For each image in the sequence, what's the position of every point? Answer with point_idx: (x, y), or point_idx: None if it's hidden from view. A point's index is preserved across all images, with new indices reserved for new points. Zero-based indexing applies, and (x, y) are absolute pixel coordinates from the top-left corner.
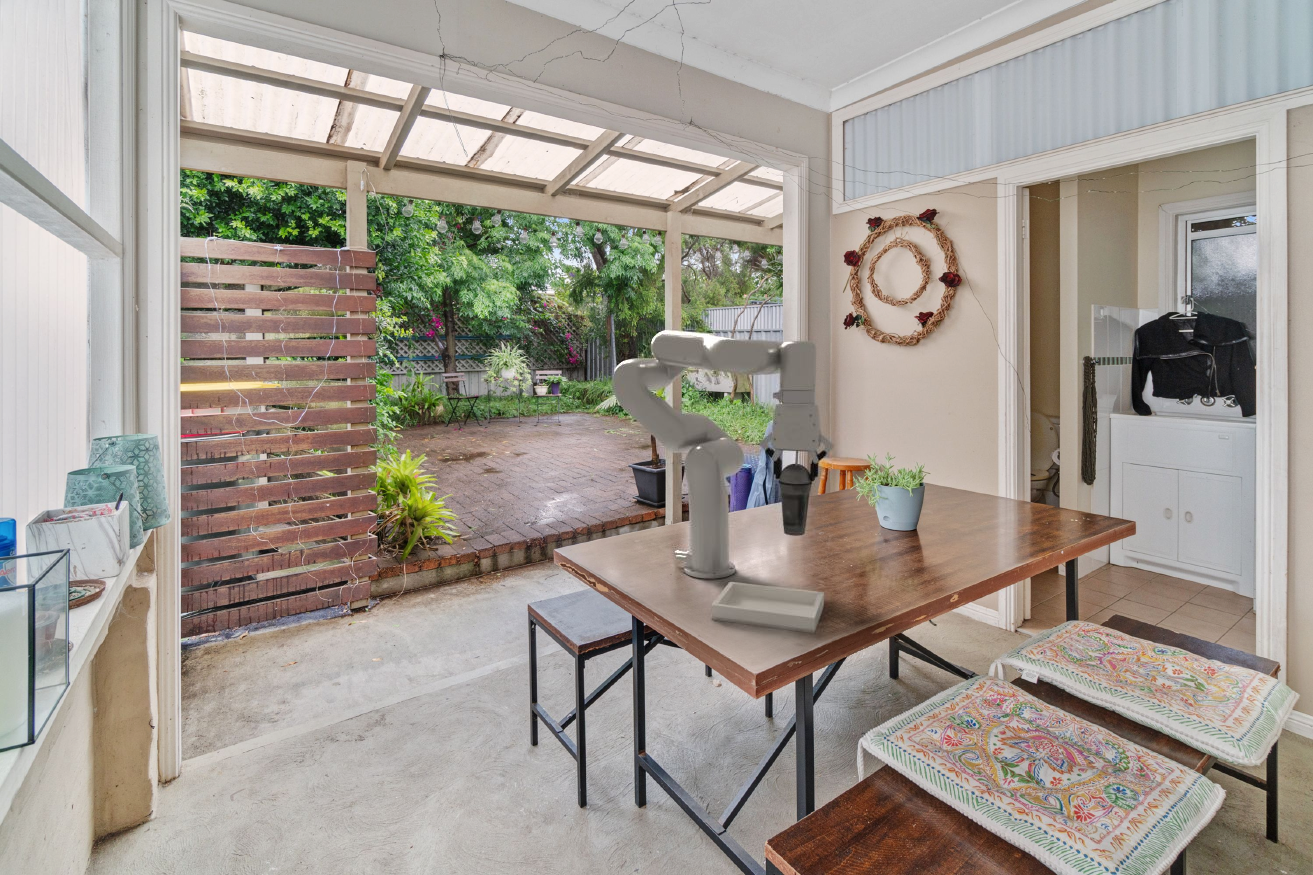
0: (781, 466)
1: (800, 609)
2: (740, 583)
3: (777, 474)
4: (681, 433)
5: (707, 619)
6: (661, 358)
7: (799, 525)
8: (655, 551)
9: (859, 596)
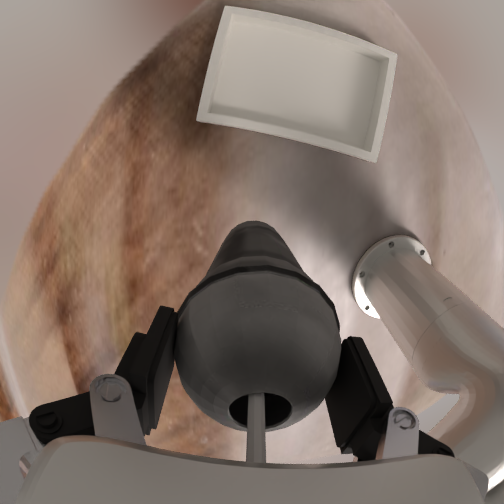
0: (332, 420)
1: (243, 87)
2: (358, 153)
3: (359, 348)
4: None
5: None
6: None
7: (239, 229)
8: None
9: (136, 181)
